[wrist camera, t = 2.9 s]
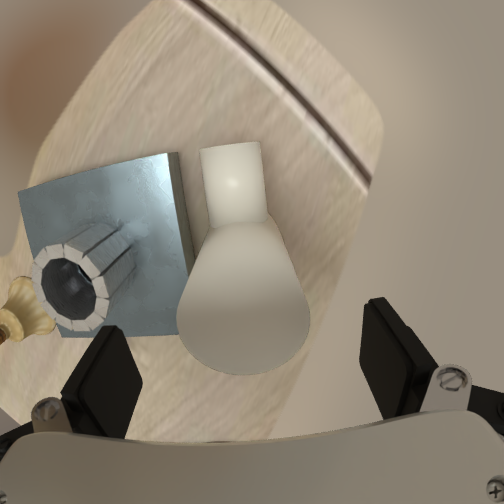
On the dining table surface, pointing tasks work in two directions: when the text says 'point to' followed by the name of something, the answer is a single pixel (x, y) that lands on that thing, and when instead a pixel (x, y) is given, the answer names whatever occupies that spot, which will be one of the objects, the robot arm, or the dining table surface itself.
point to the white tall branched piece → (241, 274)
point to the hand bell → (23, 313)
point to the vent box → (111, 247)
